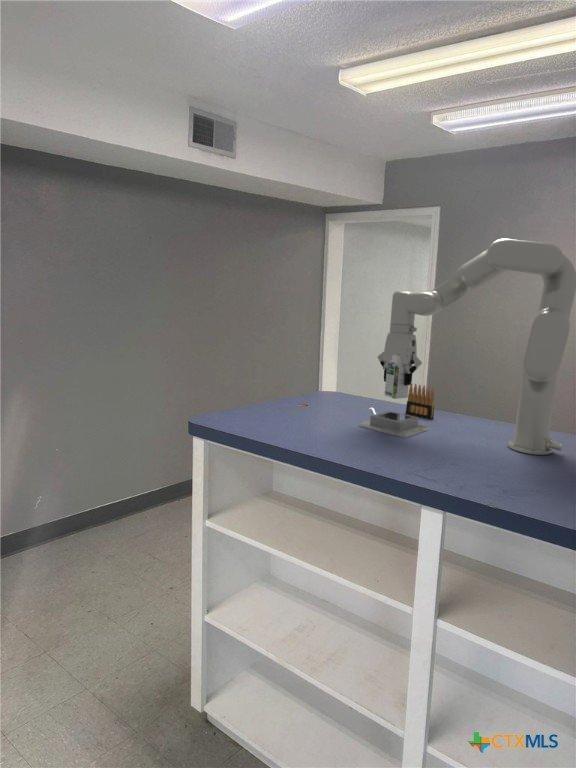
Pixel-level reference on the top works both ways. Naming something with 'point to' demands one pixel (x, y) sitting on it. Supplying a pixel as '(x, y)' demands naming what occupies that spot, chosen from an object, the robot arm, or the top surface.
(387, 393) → the syrup box
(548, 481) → the top surface
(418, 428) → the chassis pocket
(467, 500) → the top surface
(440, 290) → the robot arm
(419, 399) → the ammunition clip
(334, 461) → the top surface
